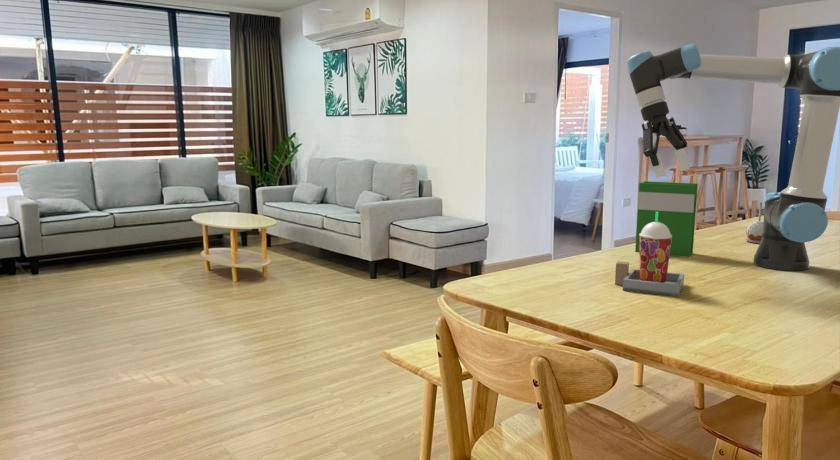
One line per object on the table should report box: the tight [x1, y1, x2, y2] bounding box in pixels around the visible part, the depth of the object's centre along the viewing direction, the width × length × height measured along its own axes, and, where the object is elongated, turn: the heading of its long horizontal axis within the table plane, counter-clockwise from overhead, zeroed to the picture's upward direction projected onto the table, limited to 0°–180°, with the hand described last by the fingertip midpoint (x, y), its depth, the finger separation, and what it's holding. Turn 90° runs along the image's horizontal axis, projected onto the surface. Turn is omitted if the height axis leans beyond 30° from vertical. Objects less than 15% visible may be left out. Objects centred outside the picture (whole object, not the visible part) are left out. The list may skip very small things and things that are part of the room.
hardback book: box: [634, 180, 699, 258], centre depth 219 cm, size 18×7×24 cm, turn 61°
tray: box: [614, 261, 685, 298], centre depth 175 cm, size 17×14×6 cm
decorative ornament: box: [745, 202, 763, 244], centre depth 238 cm, size 8×8×15 cm
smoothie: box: [639, 212, 672, 283], centre depth 173 cm, size 8×8×20 cm
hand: (673, 173), depth 189 cm, fingers open, 13 cm apart
